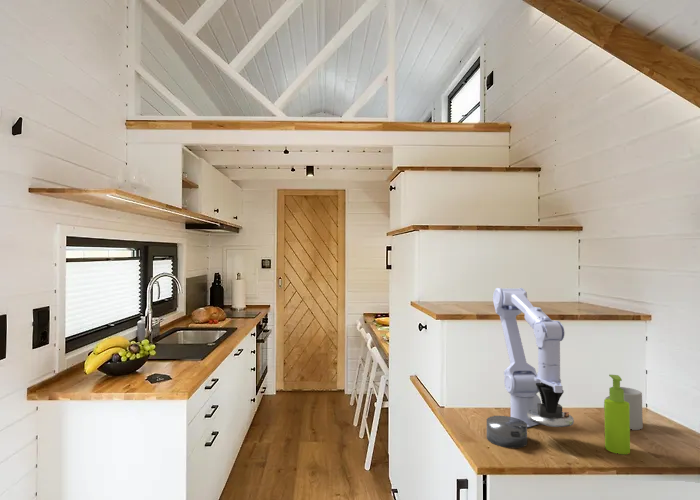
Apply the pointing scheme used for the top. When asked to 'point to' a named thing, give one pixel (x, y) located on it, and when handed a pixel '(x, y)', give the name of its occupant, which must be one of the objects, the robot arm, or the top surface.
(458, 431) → the top surface
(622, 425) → the soap dispenser
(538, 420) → the cooker lid
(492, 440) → the cooker pot
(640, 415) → the mug
